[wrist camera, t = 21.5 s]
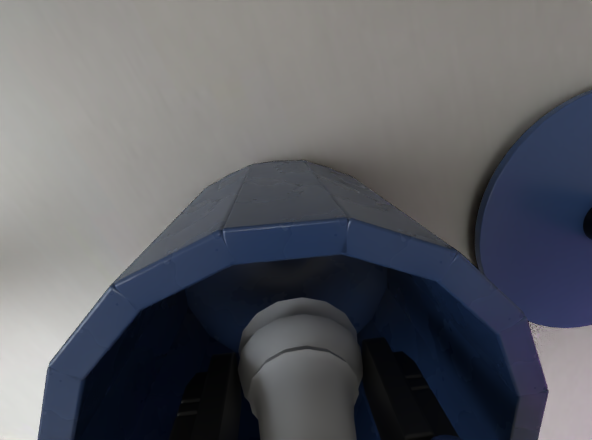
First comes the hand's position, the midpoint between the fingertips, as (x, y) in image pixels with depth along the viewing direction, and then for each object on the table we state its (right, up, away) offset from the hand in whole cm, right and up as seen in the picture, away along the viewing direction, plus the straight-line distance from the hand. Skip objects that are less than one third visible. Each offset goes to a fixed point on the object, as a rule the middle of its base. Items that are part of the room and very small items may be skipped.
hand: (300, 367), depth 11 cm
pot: (-1, +2, +7) cm, 7 cm away
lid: (+16, +5, +6) cm, 18 cm away
